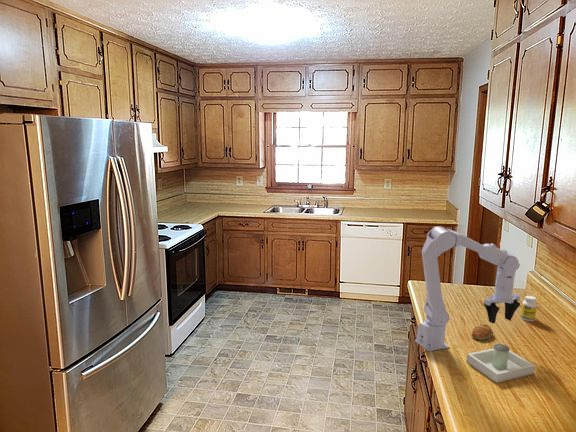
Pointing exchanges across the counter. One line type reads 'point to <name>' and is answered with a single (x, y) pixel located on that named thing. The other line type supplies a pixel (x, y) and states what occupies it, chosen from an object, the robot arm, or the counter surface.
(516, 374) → the bin
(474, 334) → the pastry
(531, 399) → the counter surface
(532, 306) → the supplement bottle
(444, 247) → the robot arm
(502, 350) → the tin
